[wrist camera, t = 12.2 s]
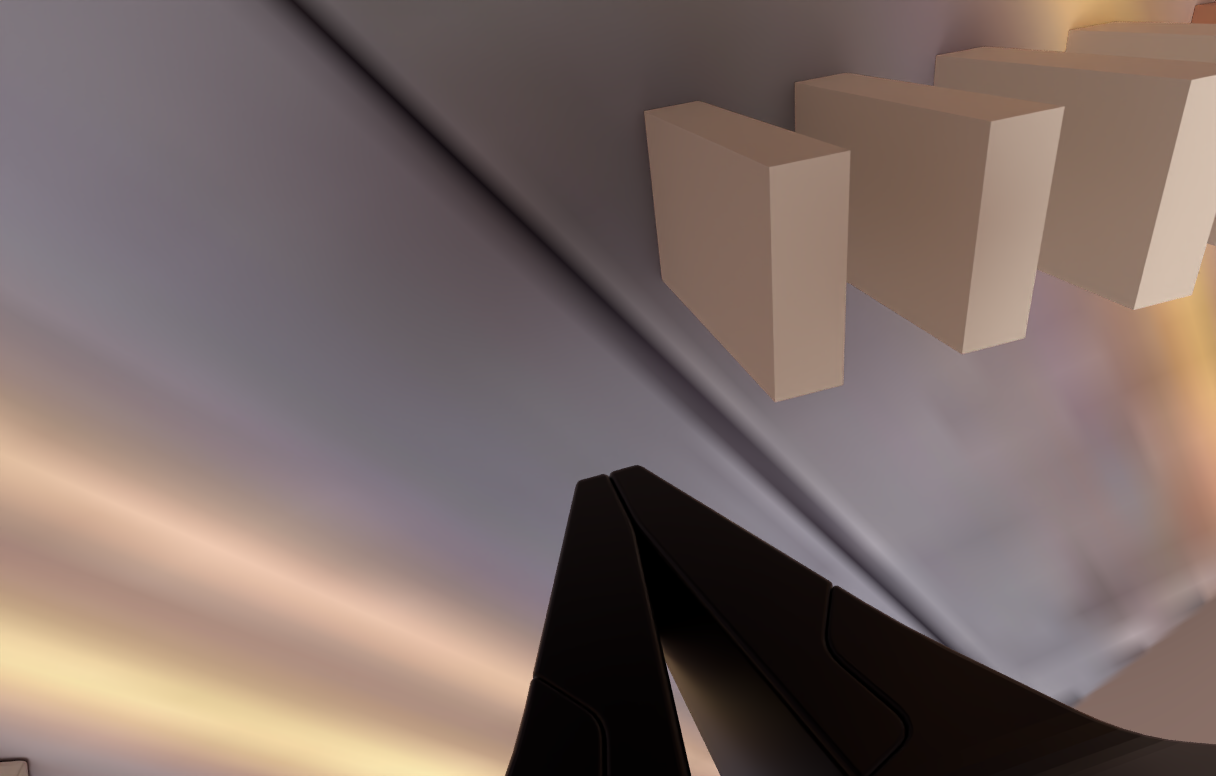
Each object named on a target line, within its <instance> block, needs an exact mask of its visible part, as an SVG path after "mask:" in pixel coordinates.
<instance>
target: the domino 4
mask: <svg viewBox="0 0 1216 776" xmlns="http://www.w3.org/2000/svg"><path fill="white" fill-rule="evenodd" d="M1066 52H1070V53H1084V54H1098V55H1112V56H1126V57H1140V58H1154V59H1168V60H1182V61H1196V62H1210V63H1216V24H1199V23H1156V22H1110V23H1104V24H1099V25H1094V26H1089V27H1083V28H1078V29H1073V30H1069V34H1068V40H1067V46H1066ZM1207 243H1208V244H1211V245H1215V246H1216V214H1215V217H1214V221H1213V224H1212V228H1211V231H1210V234H1209V238H1208V241H1207Z"/></svg>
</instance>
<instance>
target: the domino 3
mask: <svg viewBox="0 0 1216 776" xmlns="http://www.w3.org/2000/svg"><path fill="white" fill-rule="evenodd" d="M934 86H936V87H943V88H949V89H956V90H962V91H969V92H975V93H982V94H988V95H995V96H1001V97H1008V98H1014V99H1021V100H1027V101H1034V102H1040V103H1047V104H1053V105H1060V106H1065V108H1064V114H1063V119H1062V125H1061V131H1060V137H1059V143H1058V148H1057V154H1056V160H1055V166H1054V172H1053V177H1052V183H1051V189H1050V195H1049V201H1048V206H1047V212H1046V218H1045V224H1044V230H1043V235H1042V241H1041V247H1040V253H1039V259H1038V264H1037V270H1040V271H1042V272H1044V273H1047V274H1049V275H1052V276H1054V277H1056V278H1059V279H1061V280H1063V281H1066V282H1068V283H1071V284H1073V285H1075V286H1078V287H1080V288H1082V289H1085V290H1087V291H1090V292H1092V293H1094V294H1097V295H1099V296H1101V297H1104V298H1106V299H1109V300H1111V301H1113V302H1116V303H1118V304H1120V305H1123V306H1125V307H1128V308H1130V309H1132V310H1136V309H1140V308H1143V307H1147V306H1151V305H1155V304H1159V303H1163V302H1167V301H1171V300H1175V299H1178V298H1182V297H1186V296H1190V295H1192V292H1193V289H1194V286H1195V282H1196V279H1197V275H1198V272H1199V269H1200V265H1201V262H1202V258H1203V255H1204V252H1205V248H1206V245H1207V241H1208V238H1209V234H1210V231H1211V228H1212V224H1213V221H1214V217H1215V214H1216V63H1210V62H1196V61H1182V60H1168V59H1154V58H1140V57H1126V56H1112V55H1098V54H1084V53H1070V52H1056V51H1042V50H1029V49H1015V48H1001V47H987V46H983V47H978V48H973V49H968V50H962V51H957V52H952V53H947V54H941V55H936V63H935V74H934Z"/></svg>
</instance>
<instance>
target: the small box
mask: <svg viewBox="0 0 1216 776" xmlns="http://www.w3.org/2000/svg"><path fill="white" fill-rule="evenodd" d="M0 776H28V768H27V763H26V762H25V761H11V762H0Z"/></svg>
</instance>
